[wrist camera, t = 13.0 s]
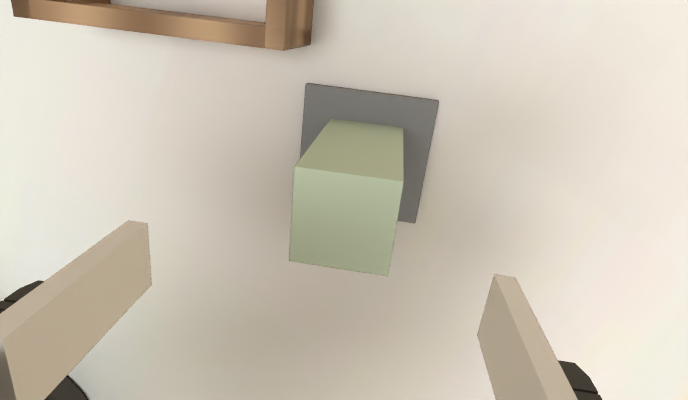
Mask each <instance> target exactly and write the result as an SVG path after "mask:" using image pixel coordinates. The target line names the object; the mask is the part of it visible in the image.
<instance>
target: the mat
mask: <svg viewBox="0 0 688 400" xmlns="http://www.w3.org/2000/svg"><path fill="white" fill-rule="evenodd" d="M438 104H439V101H438V100H432V99H425V98H417V97H410V96H402V95H395V94H387V93H379V92H372V91H364V90H357V89H349V88H342V87H334V86H326V85H319V84H311V83H307V84H306V85H305V99H304V113H303V126H302V140H301V153H300V159H301V157H302V156H303V155H304V153H305V152H306V151H307V149H308V148H309V147H310V145H311V144H312V143H313V141H314V140H315V139H316V138H317V136H318V135H319V134H320V132H321V131H322V130H323V128H324V127H325V126H326V124H327V123H328V122H329V120H330V119H331V118H333V119H340V120H348V121H356V122H364V123H371V124H379V125H387V126H395V127H403V169H404V182H403V188H402V194H401V200H400V206H399V212H398V219H397V221H404V222H410V223H415V222H416V216H417V211H418V206H419V201H420V196H421V191H422V186H423V180H424V175H425V170H426V165H427V160H428V155H429V150H430V145H431V139H432V134H433V129H434V124H435V119H436V114H437V109H438Z"/></svg>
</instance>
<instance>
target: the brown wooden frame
mask: <svg viewBox="0 0 688 400" xmlns="http://www.w3.org/2000/svg"><path fill="white" fill-rule="evenodd" d="M313 2H314V0H267V2H266V23H261V22H253V21H245V20H237V19H228V18H220V17H212V16H204V15H196V14H188V13H180V12H171V11H163V10H155V9H147V8H139V7H131V6H122V5H114V4H110V0H11V3H12V8H13V14H14V16H15V17H23V18H31V19H39V20H47V21H55V22H63V23H70V24H78V25H86V26H94V27H102V28H110V29H118V30H126V31H133V32H141V33H149V34H157V35H165V36H173V37H181V38H189V39H196V40H204V41H212V42H220V43H228V44H236V45H244V46H252V47H259V48H267V49H275V50H283V51H284V50H289V49H293V48H298V47H302V46H307V45H310V42H311V28H312V15H313Z"/></svg>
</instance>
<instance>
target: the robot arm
mask: <svg viewBox="0 0 688 400" xmlns="http://www.w3.org/2000/svg"><path fill="white" fill-rule="evenodd" d="M151 285H152V281H151V266H150V251H149V236H148V223H142V222H136V221H129V220H128V221H127V222H125V223H124V224H123V225H121V226H120V227H119V228H117V229H116V230H114V231H113V232H112V233H110V234H109V235H108V236H106V237H105V238H103V239H102V240H101V241H99V242H98V243H97V244H95V245H94V246H92V247H91V248H90V249H88V250H87V251H86V252H84V253H83V254H82V255H80V256H79V257H77V258H76V259H75V260H73V261H72V262H71V263H69V264H68V265H66V266H65V267H64V268H62V269H61V270H60V271H58V272H57V273H55V274H54V275H53V276H51V277H50V278H49V279H47V280H46V281H36V282H34V283H31V284H29V285H27V286H24V287H22V288H20V289H18V290H17V291H15V292H14V293H12V294H11V295H9V296H8V297H7V298H5V299H4V301H1V302H0V400H87V399H86V397H85V396H84V395H83V393H82V392H81V391H80V390H79V388H78V387H77V386H76V385H75V384H74V383H73V382H72V381H71V380H70V379H68V378H67V377H66V376H67V375H68V374H69V373H70V372H71V370H72V369H73V368H74V367H75V366H76V365H77V364H78V363H79V362H80V361H81V360H82V359H83V358H84V357H85V355H86V354H87V353H88V352H89V351H90V350H91V349H92V348H93V347H94V346H95V345H96V344H97V343H98V342H99V340H100V339H101V338H102V337H103V336H104V335H105V334H106V333H107V332H108V331H109V330H110V329H111V328H112V327H113V325H114V324H115V323H116V322H117V321H118V320H119V319H120V318H121V317H122V316H123V315H124V314H125V313H126V312H127V310H128V309H129V308H130V307H131V306H132V305H133V304H134V303H135V302H136V301H137V300H138V299H139V298H140V297H141V296H142V294H143V293H144V292H145V291H146V290H147V289H148V288H149V287H150V286H151ZM477 336H478V339H479V343H480V346H481V350H482V353H483V357H484V360H485V364H486V367H487V371H488V374H489V378H490V381H491V384H492V388H493V391H494V395H495V398H496V400H602V398H601V396H600V395H598V391H597V390H596V388H595V386H594V384H593V383H592V381H591V379H590V377H589V376H588V375H587V374H586V373H585V372H584V371H582V370H581V369H580V368H579V367H578V366H577V365H576V364H575V363H571V362H565V361H558V360H557V358H556V356H555V354H554V352H553V350H552V348H551V346H550V344H549V342H548V340H547V338H546V336H545V334H544V332H543V330H542V329H541V327H540V325H539V323H538V321H537V319H536V317H535V315H534V313H533V311H532V309H531V307H530V305H529V303H528V301H527V299H526V297H525V295H524V293H523V291H522V289H521V287H520V285H519V283H518V282H517V280H516V278H515V277H509V276H502V275H496V274H494V277H493V281H492V284H491V288H490V291H489V295H488V298H487V302H486V305H485V309H484V312H483V316H482V319H481V323H480V326H479V330H478V333H477Z"/></svg>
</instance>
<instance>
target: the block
mask: <svg viewBox="0 0 688 400" xmlns="http://www.w3.org/2000/svg"><path fill="white" fill-rule="evenodd" d="M403 182H404V169H403V127H395V126H387V125H379V124H371V123H364V122H356V121H348V120H340V119H333V118H331V119H330V120H329V122H328V123H327V124H326V126H325V127H324V128H323V130H322V131H321V132H320V134H319V135H318V136H317V138H316V139H315V140H314V141H313V143H312V144H311V145H310V147H309V148H308V149H307V151H306V152H305V153H304V155H303V156H302V157H301V159H300V160H299V161H298V163H297V164H296V165H295V167H294V183H293V199H292V216H291V233H290V250H289V261H293V262H300V263H306V264H312V265H319V266H325V267H332V268H338V269H345V270H351V271H357V272H364V273H370V274H377V275H383V276H388V273H389V267H390V261H391V255H392V249H393V243H394V237H395V231H396V225H397V219H398V212H399V206H400V200H401V194H402V188H403Z"/></svg>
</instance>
